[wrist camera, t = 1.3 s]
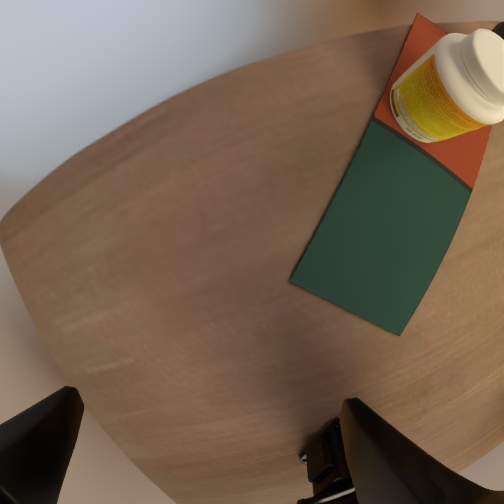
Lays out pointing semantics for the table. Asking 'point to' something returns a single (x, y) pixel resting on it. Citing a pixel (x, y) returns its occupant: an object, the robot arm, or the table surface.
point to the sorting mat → (392, 211)
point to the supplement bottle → (452, 87)
